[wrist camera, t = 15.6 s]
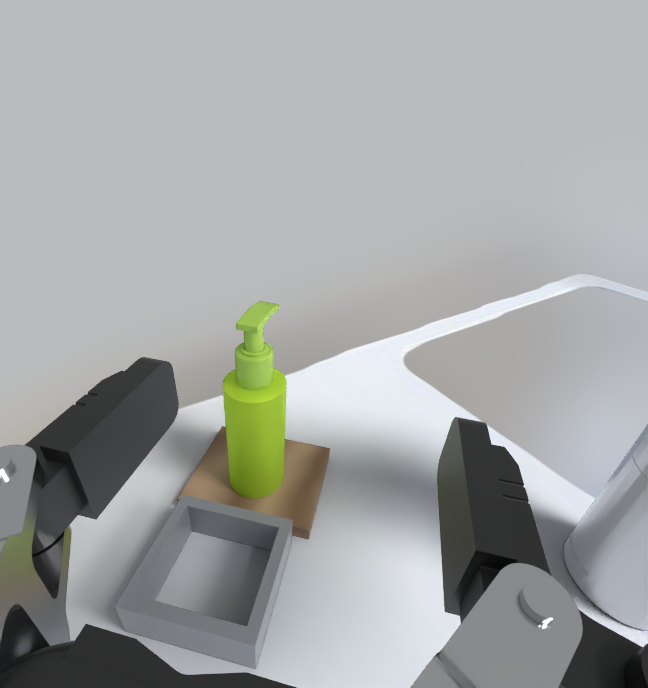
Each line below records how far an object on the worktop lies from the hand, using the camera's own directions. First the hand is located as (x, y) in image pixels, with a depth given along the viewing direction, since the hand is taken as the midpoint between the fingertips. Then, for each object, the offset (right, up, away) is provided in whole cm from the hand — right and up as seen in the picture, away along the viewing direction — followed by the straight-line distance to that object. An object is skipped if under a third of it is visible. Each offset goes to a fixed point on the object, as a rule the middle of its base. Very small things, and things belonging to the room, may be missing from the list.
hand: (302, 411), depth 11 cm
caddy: (-9, -19, +23) cm, 32 cm away
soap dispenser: (-7, -13, +32) cm, 35 cm away
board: (-7, -14, +33) cm, 36 cm away
